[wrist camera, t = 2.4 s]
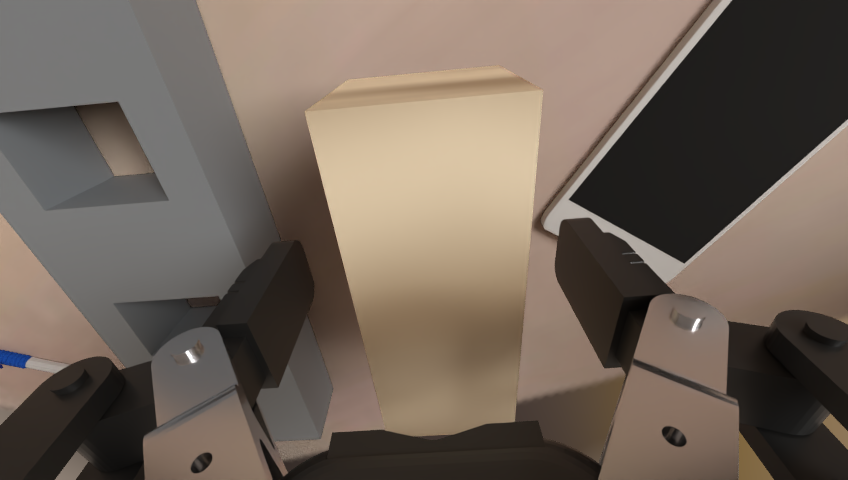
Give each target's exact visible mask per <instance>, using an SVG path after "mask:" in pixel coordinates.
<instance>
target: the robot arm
mask: <svg viewBox="0 0 848 480" xmlns="http://www.w3.org/2000/svg"><path fill="white" fill-rule="evenodd" d="M555 273H556V277H557V280H558V283H559V285H560V286H561V288H562V290H563V292H564V294H565V296H566V298H567V299H568V301H569V303H570V305H571V307H572V309H573V311H574V313H575V314H576V316H577V318H578V320H579V322H580V324H581V326H582V328H583V329H584V331H585V333H586V335H587V337H588V339H589V341H590V343H591V344H592V346H593V348H594V350H595V352H596V354H597V356H598V358H599V359H600V361H601V363H602V365H603V367H604V368H617V367H622V368H623V370H624V372H625V374H626V377H625V380H624V383H623V386H622V389H621V392H620V396H619V399H618V402H617V406H616V409H615V413H614V416H613V419H612V422H611V425H610V429H609V432H608V435H607V438H606V442H605V445H604V448H603V451H602V454H601V458H600V460H599V463H597V462H596V461H595V460H593V459H592V458H590V457H589V456H587V455H585V454H583V453H582V452H580V451H578V450H576V449H574V448H572V447H569V446H567V445H565V444H562V443H559V442H556V441H553V440H550V439H546V438H543V436H542V433H541V430H540V426H539V423H538V421H525V422H507V423H490V424H484V425H481V426H478V427H475V428H472V429H469V430H466V431H463V432H460V433H457V434H454V435H451V436H448V437H445V438H442V439H438V440H427V439H423V438H418V437H413V436H409V435H404V434H399V433H395V432H390V431H385V430H370V431H353V432H336V433H332V437H331V441H330V446H329V450H328V451H325V452H322V453H320V454H318V455H316V456H314V457H312V458H310V459H308V460H306V461H305V462H303V463H301V464H300V465H298V466H297V467H295V468H294V469H293V470H291V471H290V472H289V473H288V472H287V470H286V468H285V466H284V464H283V462H282V459H281V457H280V454H279V452H278V449H277V447H276V444H275V442H274V439H273V437H272V434H271V432H270V429H269V427H268V424H267V422H266V419H265V417H264V414H263V412H262V409H261V407H260V405H259V403H258V401H257V397H258V395H259V392H260V390H261V389H268V388H279V385H280V382H281V380H282V377H283V375H284V372H285V370H286V367H287V365H288V362H289V359H290V357H291V354H292V352H293V349H294V347H295V344H296V342H297V339H298V336H299V334H300V331H301V329H302V326H303V324H304V321H305V319H306V316H307V313H308V311H309V308H310V306H311V303H312V301H313V297H314V281H313V278H312V275H311V271H310V268H309V265H308V262H307V259H306V256H305V253H304V250H303V247H302V244H301V243H300V242H299V241H298V240H294V241H281V242H273V243H271V245H270V246H269V248H268V249H267V250H266V252H265V253H264V255H263V256H262V258H261V259H257V260H255V261H254V262H253V263H251V264H250V265H249V266H247V267H246V268H245V269H243V271H242V272H241V273H240V275H239V276H238V277H237V279H236V280H235V284H232V286H231V287H230V288H229V290H228V291H227V292H228V294H225V295H224V297H223V298H222V300H221V301H220V302H219V304H218V305H217V306H216V308H215V309H214V311H213V312H212V313H211V315H210V316H209V317H208V319H207V320H206V322H205V323H204V324H203V326H202V327H199V328H194V329H191V330H188V331H186V332H183V333H181V334H179V335H177V336H176V337H174V338H172V339H171V340H170V341H168V342H167V343H166V344H164V345H163V346H162V347H161V348H160V349H159V350H158V352H157V353H156V354H155V356H154V358H153V360H152V361H148V362H145V363H142V364H138V365H135V366H132V367H128V368H125V369H122V370H118V368H117V367H116V366H115V365H114V364H113V362H112V361H111V360H110V359H109V358H106V357H92V358H87V359H84V360H81V361H78V362H76V363H74V364H71V365H69V366H67V367H65V368H64V369H62V370H60V371H59V372H57V373H55V374H54V375H52V376H51V377H50V378H48V379H47V380H46V381H45V382H43V383H42V384H41V385H40V386H39V387H38V388H37V389H36V390H35V391H34V392H33V393H32V394H31V395H30V396H29V397H28V398H27V399H26V400H25V401H24V402H23V403H22V404H21V405H20V406H19V407H18V408H17V409H16V410H15V411H14V412H13V413H12V414H11V415H10V416H9V417H8V418H7V419H6V420H5V421H4V422H3V423H2V424H1V425H0V480H55V479H56V477H57V476H58V474H59V473H60V472H61V471H62V469H63V467H65V465H66V464H67V463H68V461H69V460H70V459H71V457H72V456H73V455H74V453H75V452H76V451H78V452H79V453H80V454H81V455H82V456H83V457H84V458H86V459H87V460H88V461H89V462H88V463H87V465H86V466H85V468H84V469H83V470H82V472H81V473H80V475H79V476H78V477H77V479H76V480H738V471H739V470H738V468H739V464H738V463H739V431H740V433H741V434H742V435H743V437H744V438H745V440H746V441H747V442H748V444H749V445H750V447H751V448H752V449H753V451H754V452H755V453H756V455H757V456H758V458H759V459H760V461H761V462H762V463H763V465H764V466H765V468H766V469H767V470H768V471H769V473H770V474H771V476H772V477H773V479H774V480H848V450H847V449H846V448H845V446H844V445H843V444H842V443H841V442H840V441H839V440H838V439H837V438H836V437H835V436H834V435H833V434H832V433H831V432H830V431H829V429H828V428H827V427H826V426H825V425H824V424H823V423H822V422H823V421H824V420H825V419H826V418H827V417H828V416H829V414H830V413H831V414H832V415H833V416H834V417H835V418H836V419H837V420H838V421H839V422H840V423H841V424H842V425H843V426H844V427H845V428H846V430H847V431H848V325H847V324H845V323H843V322H841V321H839V320H836V319H834V318H831V317H828V316H825V315H822V314H818V313H814V312H809V311H802V310H789V311H784V312H781V313H779V314H778V315H777V316H776V317H775V319H774V321H773V322H772V324H771V326H770V327H764V326H757V325H750V324H743V323H737V322H730V321H727V320H726V318H725V317H724V316H723V315H722V314H721V312H719V311H718V310H717V309H716V308H714V307H713V306H711V305H710V304H708V303H706V302H704V301H701V300H699V299H697V298H694V297H690V296H686V295H681V294H675V293H674V292H673V291H672V290H671V289H670V288H669V287H668V286H667V285H666V284H665V282H664V281H663V280H662V279H661V278H660V277H659V276H658V275H657V274H656V273H655V272H654V271H653V270H652V269H651V268H650V267H649V266H648V264H647V263H644V260H643V259H642V258H641V257H640V256H639V255H638V254H636V253H635V251H634V250H633V249H632V248H631V246H630V245H629V244H628V243H627V242H626V241H624V240H623V239H621V238H619V237H617V236H615V235H614V234H612V233H610V232H605V233H604V232H603V231H602V230H601V229H600V228H599V227H598V226H597V224H596V223H595V222H594V221H593V220H592V219H591V218H589V217H587V218H575V219H564V220H562V221H561V224H560V228H559V235H558V243H557V251H556V258H555Z"/></svg>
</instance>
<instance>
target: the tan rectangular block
mask: <svg viewBox="0 0 848 480" xmlns="http://www.w3.org/2000/svg"><path fill="white" fill-rule="evenodd" d="M542 98H543V89H541V88H539V87H537V86H535V85H534V84H532V83H530V82H528V81H526V80H525V79H523V78H521V77H519V76H517V75H516V74H514V73H512V72H510V71H508V70H507V69H505V68H503V67H501V66H499V65H497V66H487V67H476V68H466V69H455V70H445V71H434V72H424V73H413V74H403V75H392V76H382V77H371V78H361V79H350V80H347V81H346V82H344V83H343V84H342V85H340V86H339V87H337V88H336V89H335V90H333V91H332V92H331V93H329V94H328V95H327V96H325V97H324V98H322V99H321V100H320V101H318V102H317V103H316V104H314V105H313V106H312V107H310V108H309V109H307V110H306V111H305V116H306V120H307V124H308V128H309V132H310V136H311V140H312V144H313V147H314V151H315V155H316V159H317V163H318V167H319V171H320V175H321V179H322V183H323V187H324V191H325V195H326V198H327V202H328V206H329V210H330V214H331V218H332V222H333V226H334V230H335V234H336V238H337V242H338V246H339V249H340V253H341V257H342V261H343V265H344V269H345V273H346V277H347V281H348V285H349V289H350V293H351V296H352V300H353V304H354V308H355V312H356V316H357V320H358V324H359V328H360V332H361V336H362V340H363V344H364V347H365V351H366V355H367V359H368V363H369V367H370V371H371V375H372V379H373V383H374V387H375V391H376V395H377V398H378V402H379V406H380V410H381V414H382V418H383V422H384V426H385V430H386V431H390V432H395V433H399V434H404V435H409V436H431V435H450V434H451V435H452V434H457V433H460V432H463V431H466V430H469V429H472V428H475V427H478V426H481V425H484V424H490V423H507V422H515V411H516V401H517V389H518V377H519V366H520V354H521V343H522V331H523V319H524V308H525V296H526V284H527V273H528V261H529V250H530V238H531V226H532V215H533V203H534V191H535V180H536V168H537V157H538V145H539V133H540V122H541V110H542Z"/></svg>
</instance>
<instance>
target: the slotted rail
mask: <svg viewBox="0 0 848 480" xmlns="http://www.w3.org/2000/svg"><path fill="white" fill-rule="evenodd" d="M109 102H119V104H120V106H121V108H122V110H123V112H124V114H125V116H126V118H127V120H128V122H129V124H130V125H131V127H132V129H133V131H134V133H135V135H136V137H137V139H138V141H139V143H140V145H141V147H142V149H143V151H144V153H145V155H146V157H147V158H148V160H149V162H150V164H151V166H152V168H153V170H154V172H155V173H149V174H137V175H126V176H114V175H113V173H112V172H111V170H110V168H109V166H108V165H107V163H106V161H105V160H104V158H103V156H102V154H101V153H100V151H99V149H98V148H97V146H96V144H95V142H94V141H93V139H92V137H91V136H90V134H89V132H88V130H87V129H86V127H85V125H84V124H83V122H82V120H81V118H80V117H79V115H78V113H77V111H76V110H75V108H74V106H78V105H88V104H99V103H109ZM0 213H1V214H2V216H3V217H4V218H5V219H6V220H7V222H8V223H9V224H10V225H11V227H12V228H13V229H14V230H15V232H16V233H17V234H18V235H19V237H20V238H21V239H22V240H23V241H24V243H25V244H26V245H27V246H28V248H29V249H30V250H31V251H32V253H33V254H34V255H35V256H36V257H37V259H38V260H39V261H40V262H41V264H42V265H43V266H44V267H45V269H46V270H47V271H48V272H49V274H50V275H51V276H52V277H53V278H54V280H55V281H56V282H57V283H58V285H59V286H60V287H61V288H62V290H63V291H64V292H65V293H66V295H67V296H68V297H69V298H70V299H71V301H72V302H73V303H74V304H75V306H76V307H77V308H78V309H79V311H80V312H81V313H82V314H83V315H84V317H85V318H86V319H87V320H88V322H89V323H90V324H91V325H92V327H93V328H94V329H95V330H96V332H97V333H98V334H99V335H100V336H101V338H102V339H103V340H104V341H105V343H106V344H107V345H108V346H109V348H110V349H111V350H112V351H113V352H114V354H115V355H116V356H117V357H118V359H119V360H120V361H121V362H122V364H123V365H124V366H125V367H126V368H128V367H132V366H135V365H138V364H142V363H145V362H148V361H152V360H153V358H154V356H155V354H156V353H157V352H158V350H159V349H160V348H161V347H162V346H163V345H164V344H166V343H167V342H168V341H170V340H171V339H172V338H174V337H176V336H177V335H179V334H181V333H183V332H186V331H188V330H191V329H194V328H199V327H202V326H203V324H204V323H205V322H206V320H207V319H208V317H209V316H210V315H211V313H212V312H213V311H214V309H215V308H216V306H209V307H194V308H191V307H190V305H189V304H188V302H187V300H186V299H185V298H199V297H214V296H219V298H220V300H222V298H223V297H224V295H225V294H228V292H227V291H228V290H229V288H230V287H231V286H232V284H235V280H236V279H237V277H238V276H239V275H240V273H241V272H242V271H243V269H245V268H246V267H247V266H249V265H250V264H251V263H253V262H254V261H255V260H257V259H261V258H262V256H263V255H264V253H265V252H266V250H267V249H268V248H269V246H270V245H271V243H273V242H281V240H280V237H279V234H278V231H277V229H276V226H275V223H274V220H273V217H272V214H271V212H270V209H269V206H268V203H267V200H266V197H265V195H264V192H263V189H262V186H261V183H260V181H259V178H258V175H257V172H256V169H255V166H254V164H253V161H252V158H251V155H250V152H249V150H248V147H247V144H246V141H245V138H244V135H243V133H242V130H241V127H240V124H239V121H238V119H237V116H236V113H235V110H234V107H233V104H232V102H231V99H230V96H229V93H228V90H227V88H226V85H225V82H224V79H223V76H222V73H221V71H220V68H219V65H218V62H217V59H216V57H215V54H214V51H213V48H212V45H211V42H210V40H209V37H208V34H207V31H206V28H205V26H204V23H203V20H202V17H201V14H200V11H199V9H198V6H197V3H196V0H0ZM332 392H333V386H332V384H331V381H330V378H329V375H328V372H327V369H326V367H325V364H324V361H323V358H322V355H321V353H320V350H319V347H318V344H317V341H316V338H315V336H314V333H313V330H312V327H311V324H310V322H309V319H308V316H306V319H305V321H304V324H303V326H302V329H301V331H300V334H299V336H298V339H297V342H296V344H295V347H294V349H293V352H292V354H291V357H290V359H289V362H288V365H287V367H286V370H285V372H284V375H283V377H282V380H281V382H280V385H279V388H268V389H261V390H260V392H259V395H258V397H257V401H258V403H259V405H260V407H261V409H262V412H263V414H264V417H265V419H266V422H267V424H268V427H269V429H270V432H271V434H272V437H273V439H274V441H293V440H314V439H321V436H322V432H323V428H324V424H325V420H326V416H327V412H328V408H329V404H330V400H331V396H332Z"/></svg>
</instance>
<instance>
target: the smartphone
mask: <svg viewBox="0 0 848 480" xmlns="http://www.w3.org/2000/svg"><path fill="white" fill-rule="evenodd" d="M846 126H848V0H713V1H712V2H711V3H710V5H709V6H708V7H707V8H706V10H705V11H704V12H703V13H702V15H701V16H700V17H699V18H698V20H697V21H696V22H695V23H694V25H693V26H692V27H691V28H690V30H689V31H688V32H687V33H686V35H685V36H684V37H683V38H682V40H681V41H680V42H679V43H678V45H677V46H676V47H675V48H674V50H673V51H672V52H671V53H670V55H669V56H668V57H667V58H666V60H665V61H664V62H663V64H662V65H661V66H660V67H659V69H658V70H657V71H656V72H655V74H654V75H653V76H652V77H651V79H650V80H649V81H648V82H647V84H646V85H645V86H644V87H643V89H642V90H641V91H640V92H639V94H638V95H637V96H636V97H635V99H634V100H633V101H632V102H631V104H630V105H629V106H628V107H627V109H626V110H625V111H624V112H623V114H622V115H621V116H620V117H619V119H618V120H617V121H616V122H615V124H614V125H613V126H612V127H611V129H610V130H609V131H608V132H607V134H606V135H605V136H604V137H603V139H602V140H601V141H600V142H599V144H598V145H597V146H596V147H595V149H594V150H593V151H592V152H591V154H590V155H589V156H588V157H587V159H586V160H585V161H584V162H583V164H582V165H581V166H580V167H579V169H578V170H577V171H576V172H575V174H574V175H573V176H572V177H571V179H570V180H569V181H568V182H567V184H566V185H565V186H564V187H563V189H562V190H561V191H560V192H559V194H558V195H557V196H556V197H555V199H554V200H553V201H552V202H551V204H550V205H549V206H548V207H547V209H546V210H545V212H544V213H543V215H542V217H541V224H542V225H543V227H544V229H545V230H547V231H549V232H551V233H553V234H555V235H557V236H558V235H559V228H560V224H561V221H562V220H564V219H575V218H587V217H589V218H591V219H592V220H593V221H594V222H595V223H596V224H597V226H598V227H599V228H600V229H601V230H602V231H603V232H604V233H605V232H610V233H612V234H614V235H615V236H617V237H619V238H621V239H623V240H624V241H626V242H627V243H628V244H629V245H630V246H631V248H632V249H633V250H634V251H635V253H636V254H638V255H639V256H640V257H641V258H642V259H643V260H644V263H647V264H648V266H649V267H650V268H651V269H652V270H653V271H654V272H655V273H656V274H657V275H658V276H659V277H660V278H661V279H662V280H663V281H664V282H665V284H666V283H668V282H669V281H670V280H672V279H673V278H674V277H675V276H676V275H678V274H679V273H680V272H681V271H682V270H683V269H684V268H686V267H687V266H688V265H689V264H690V263H691V262H692V261H693V260H695V259H696V258H697V257H698V256H699V255H700V254H701V253H703V252H704V251H705V250H706V249H707V248H708V247H709V246H711V245H712V244H713V243H714V242H715V241H716V240H717V239H719V238H720V237H721V236H722V235H723V234H724V233H725V232H727V231H728V230H729V229H730V228H731V227H732V226H733V225H735V224H736V223H737V222H738V221H739V220H740V219H741V218H743V217H744V216H745V215H746V214H747V213H748V212H749V211H751V210H752V209H753V208H754V207H755V206H756V205H757V204H759V203H760V202H761V201H762V200H763V199H764V198H765V197H767V196H768V195H769V194H770V193H771V192H772V191H773V190H774V189H776V188H777V187H778V186H779V185H780V184H781V183H782V182H784V181H785V180H786V179H787V178H788V177H789V176H790V175H792V174H793V173H794V172H795V171H796V170H797V169H798V168H800V167H801V166H802V165H803V164H804V163H805V162H806V161H808V160H809V159H810V158H811V157H812V156H813V155H814V154H816V153H817V152H818V151H819V150H820V149H821V148H822V147H824V146H825V145H826V144H827V143H828V142H829V141H830V140H832V139H833V138H834V137H835V136H836V135H837V134H838V133H840V132H841V131H842V130H843V129H844V128H845V127H846Z"/></svg>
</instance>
